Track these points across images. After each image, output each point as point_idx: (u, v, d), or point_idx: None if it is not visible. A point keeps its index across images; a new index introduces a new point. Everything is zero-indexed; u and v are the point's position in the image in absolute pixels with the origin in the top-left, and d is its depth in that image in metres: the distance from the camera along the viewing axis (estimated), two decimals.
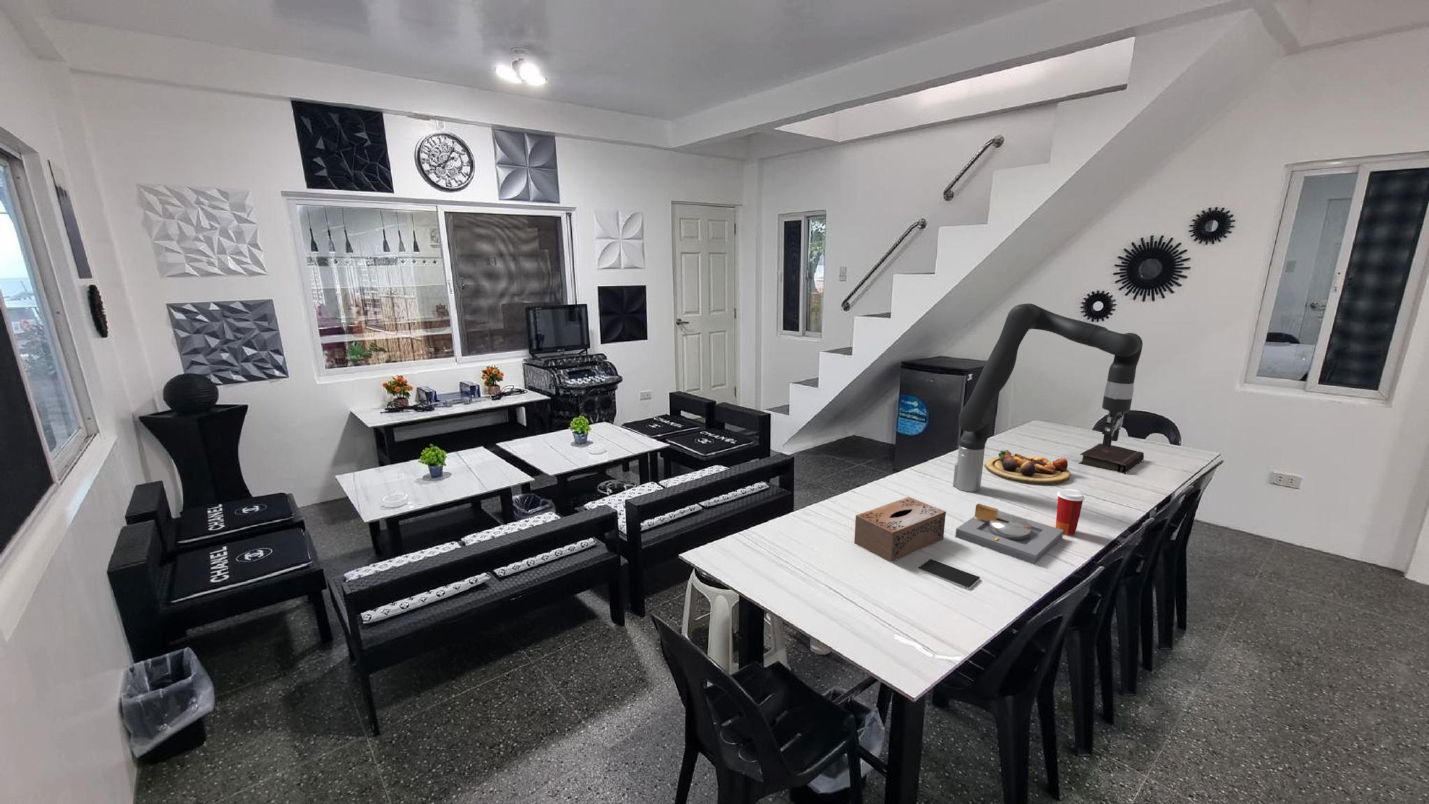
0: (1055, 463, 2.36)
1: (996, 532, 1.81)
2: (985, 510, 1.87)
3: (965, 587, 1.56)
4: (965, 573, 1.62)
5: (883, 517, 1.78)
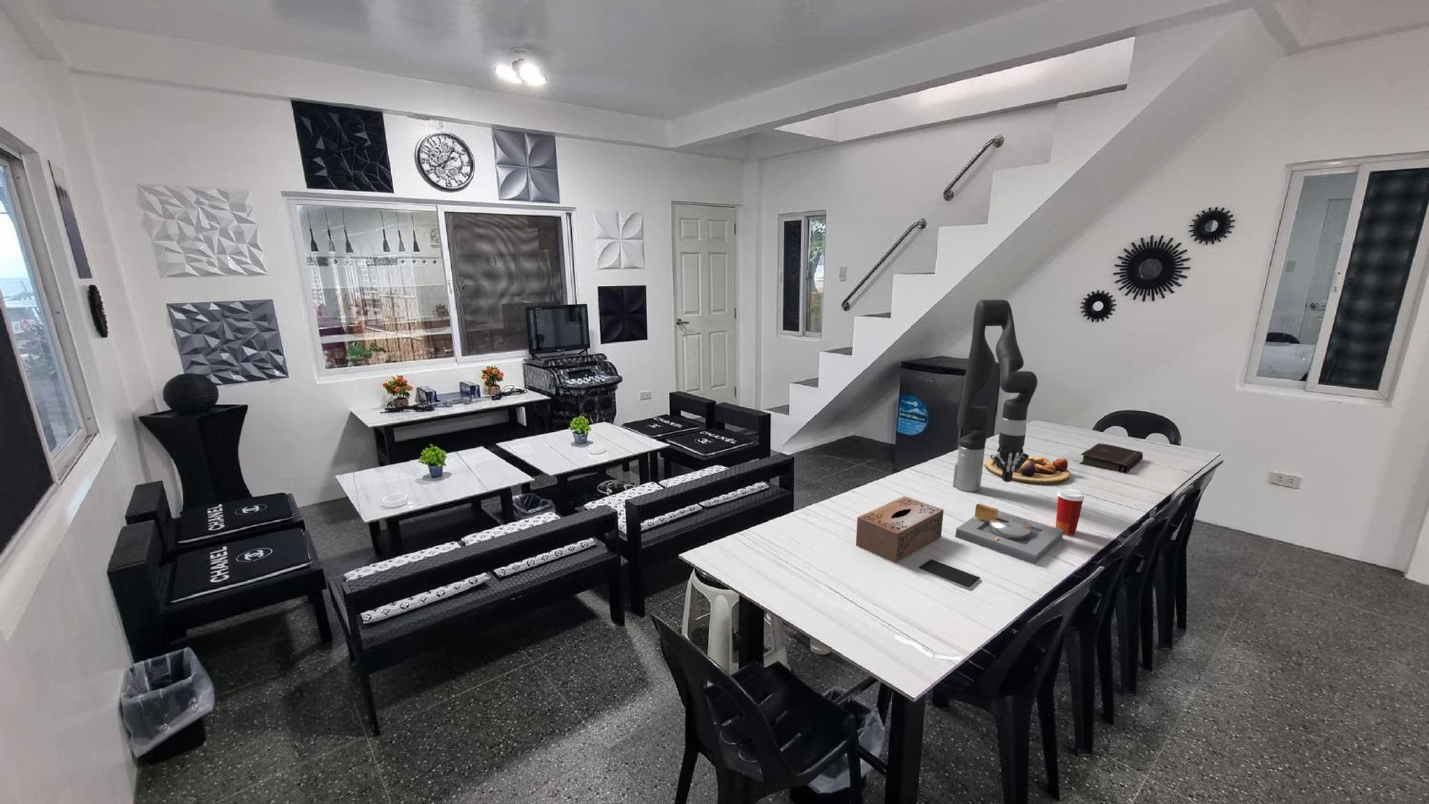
0: (1055, 463, 2.36)
1: (996, 532, 1.81)
2: (985, 510, 1.87)
3: (965, 587, 1.56)
4: (965, 573, 1.62)
5: (885, 517, 1.77)
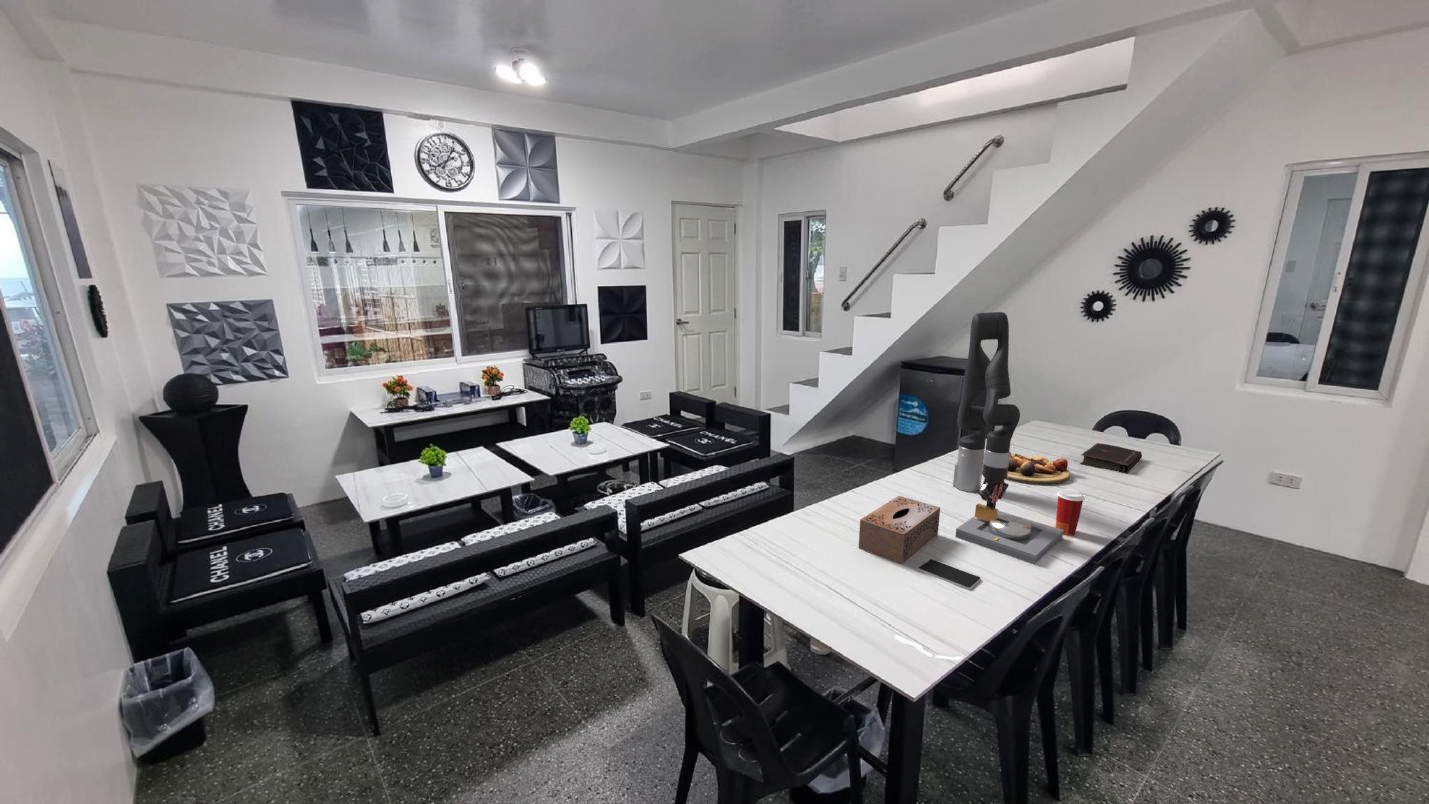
0: (1055, 463, 2.36)
1: (996, 532, 1.81)
2: (985, 510, 1.87)
3: (966, 587, 1.55)
4: (966, 573, 1.62)
5: (887, 518, 1.77)
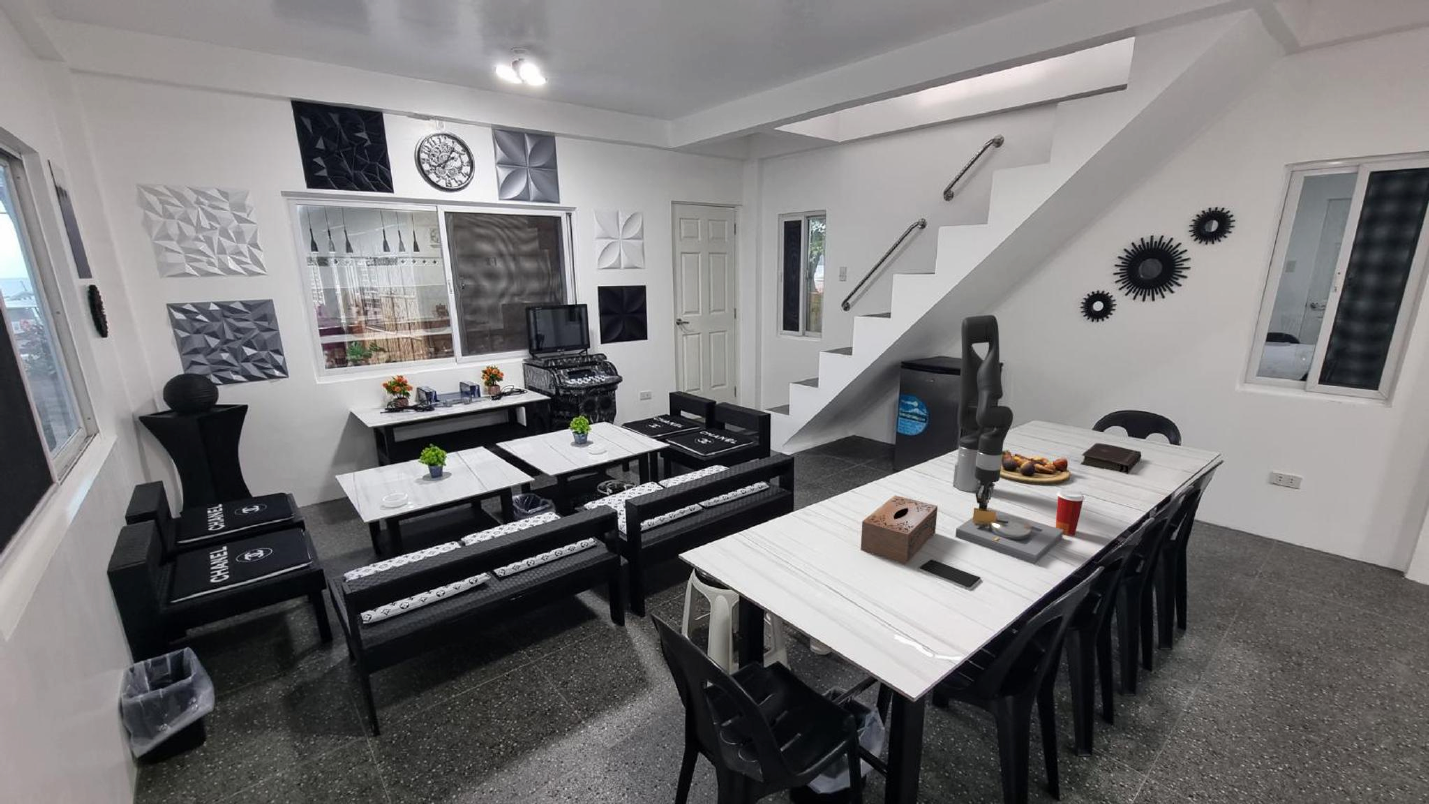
0: (1055, 463, 2.36)
1: (1004, 535, 1.79)
2: (984, 513, 1.85)
3: (966, 587, 1.55)
4: (966, 573, 1.62)
5: (888, 519, 1.76)
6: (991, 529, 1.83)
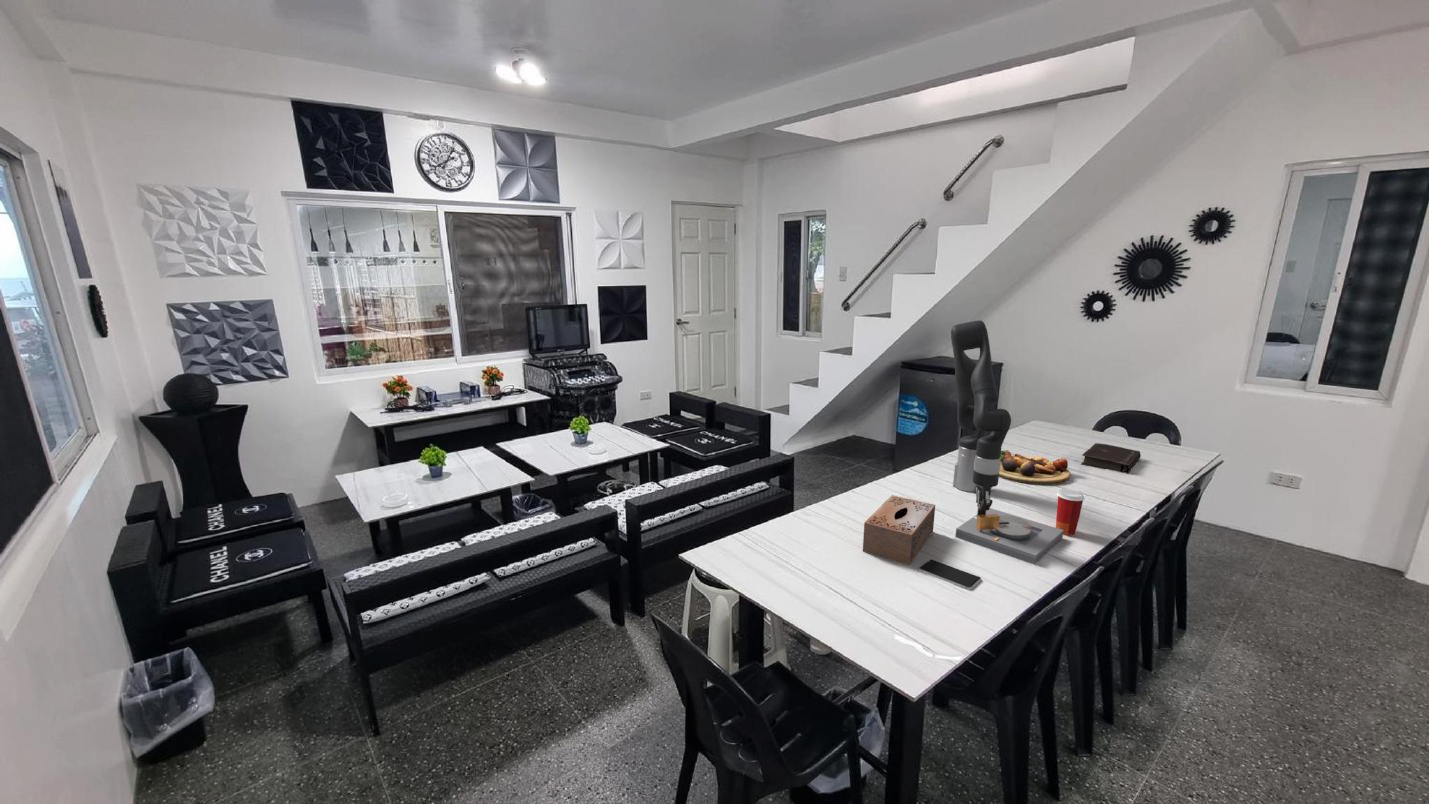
0: (1055, 463, 2.36)
1: (1015, 537, 1.78)
2: (989, 519, 1.81)
3: (966, 587, 1.55)
4: (966, 573, 1.62)
5: (889, 519, 1.76)
6: (998, 533, 1.80)
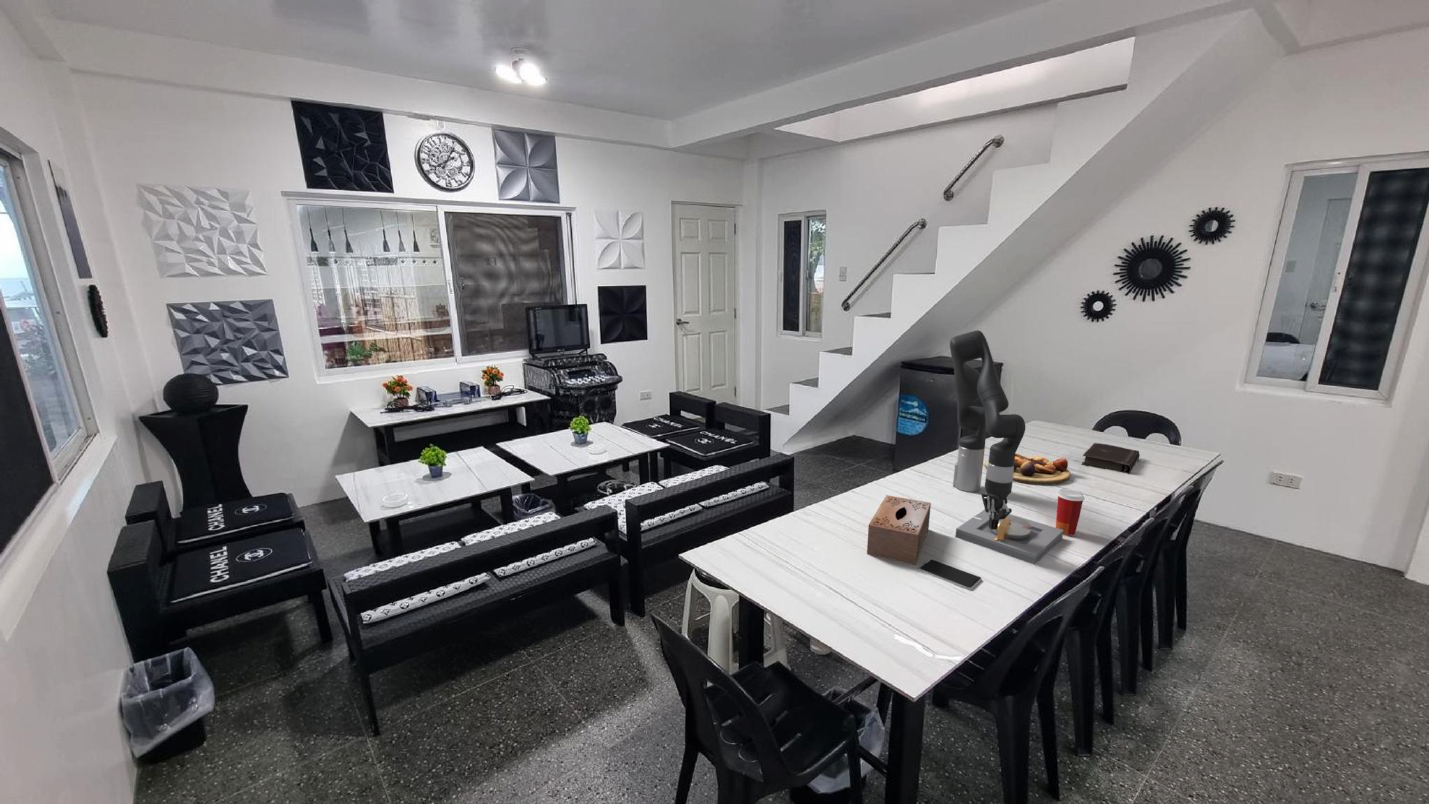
0: (1055, 463, 2.36)
1: (1027, 536, 1.78)
2: (1007, 526, 1.76)
3: (966, 587, 1.55)
4: (966, 573, 1.62)
5: (892, 520, 1.75)
6: (1014, 537, 1.78)
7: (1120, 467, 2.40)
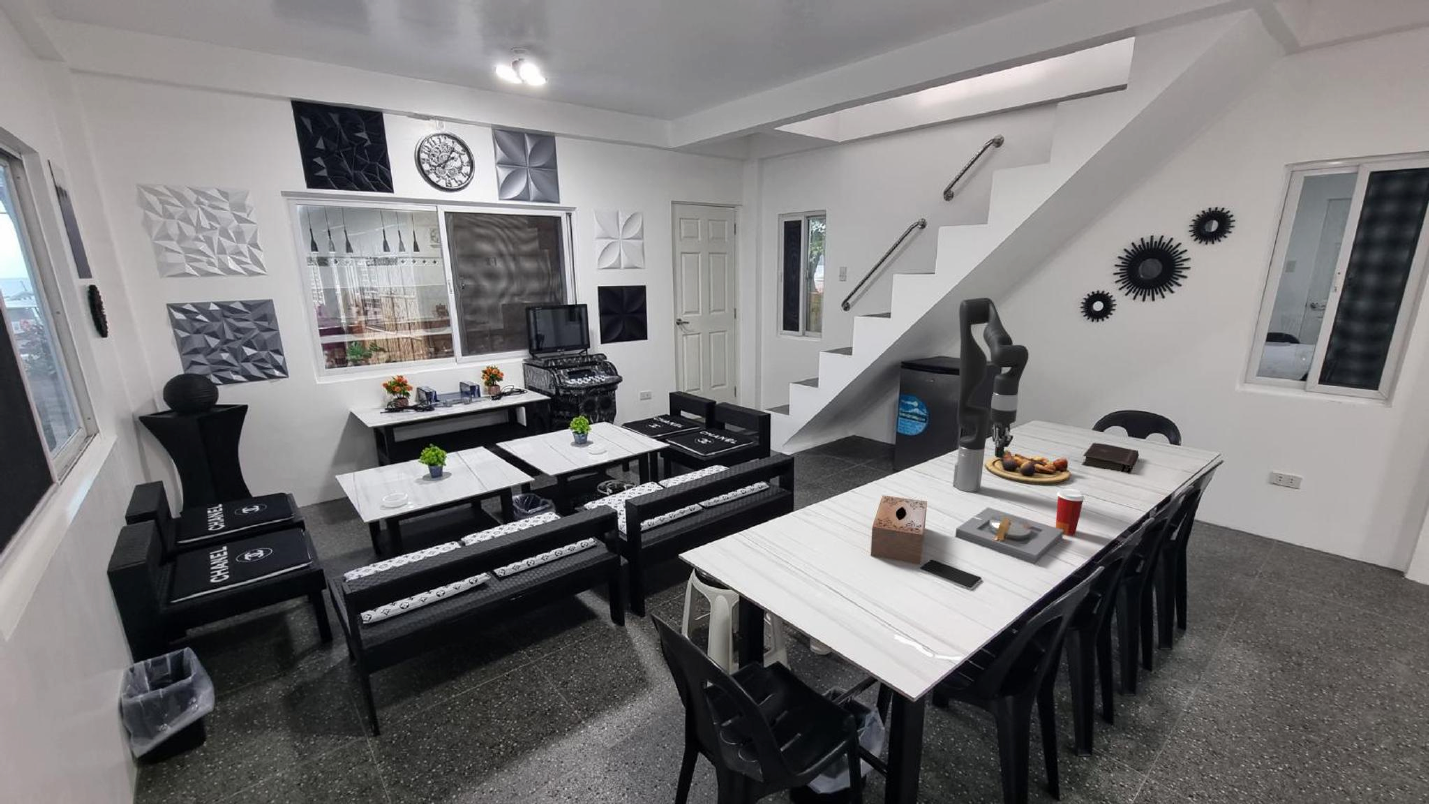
0: (1055, 463, 2.36)
1: (1027, 536, 1.78)
2: (1007, 526, 1.76)
3: (967, 587, 1.55)
4: (966, 573, 1.62)
5: (894, 521, 1.75)
6: (1014, 537, 1.78)
7: (1121, 467, 2.40)
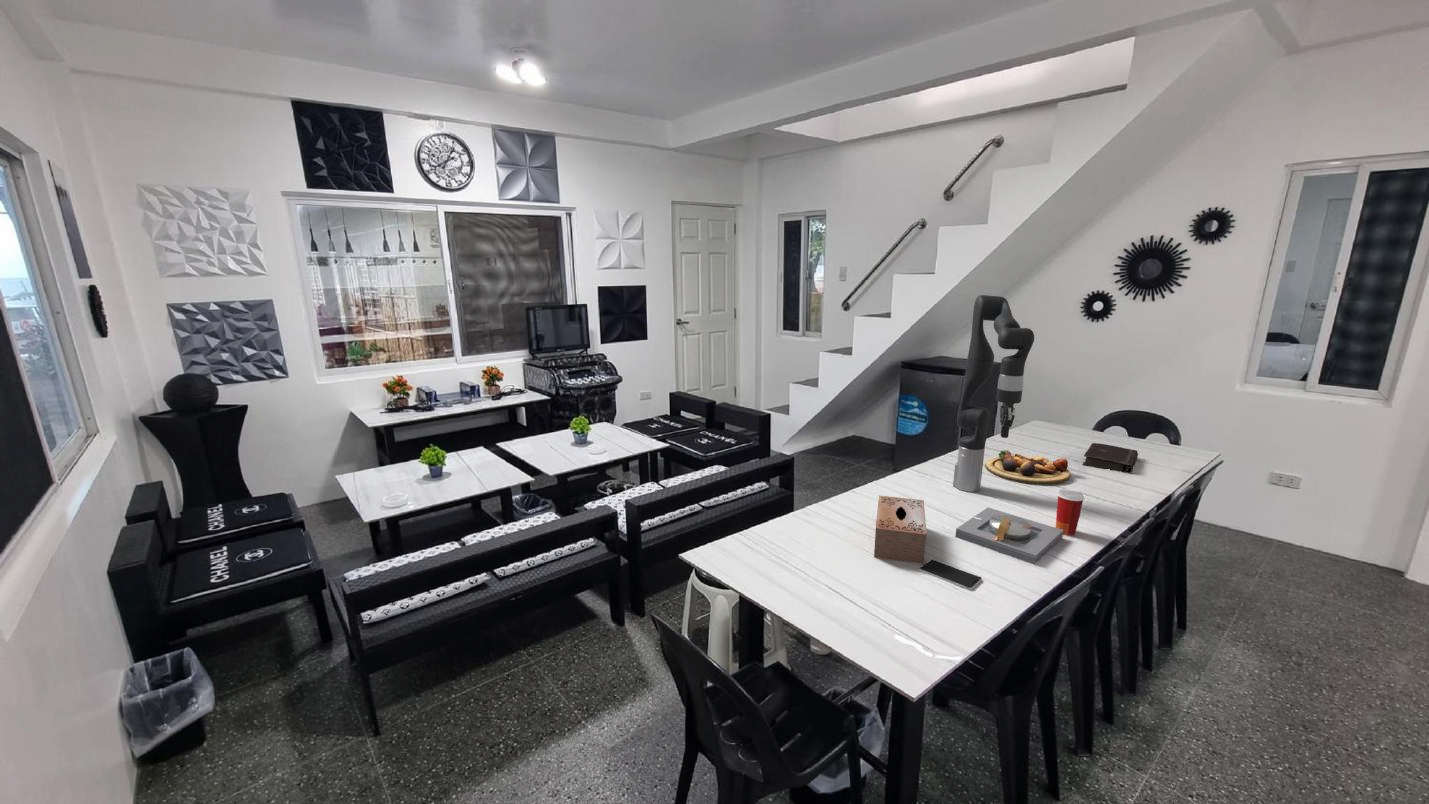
0: (1055, 463, 2.36)
1: (1027, 536, 1.78)
2: (1007, 526, 1.76)
3: (967, 587, 1.55)
4: (967, 573, 1.62)
5: (896, 521, 1.75)
6: (1014, 537, 1.78)
7: (1121, 467, 2.40)
